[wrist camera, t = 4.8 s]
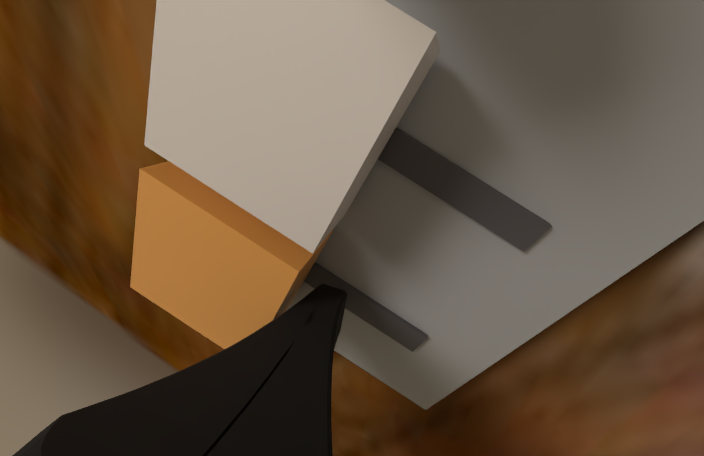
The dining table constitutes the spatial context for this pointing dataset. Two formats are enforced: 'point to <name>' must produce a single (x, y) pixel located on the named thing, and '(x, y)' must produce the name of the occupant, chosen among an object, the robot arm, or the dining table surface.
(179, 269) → the block
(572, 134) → the panel
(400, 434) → the dining table surface
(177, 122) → the block
